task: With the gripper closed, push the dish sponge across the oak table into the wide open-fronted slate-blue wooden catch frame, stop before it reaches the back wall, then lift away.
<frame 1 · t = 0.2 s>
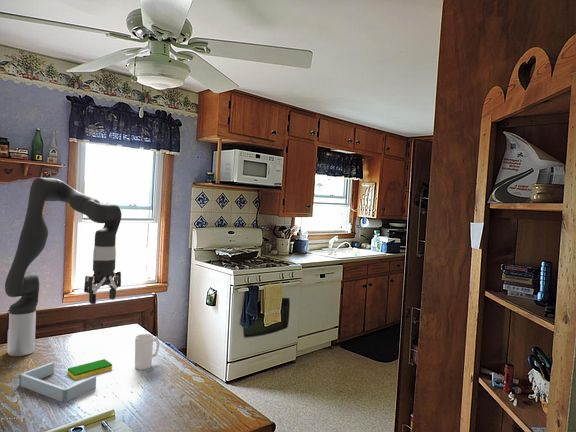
hand: (102, 301, 147), 28 cm above the table, fingers open, 8 cm apart
dish sponge: (90, 372, 152), on the table
catch frame: (57, 386, 139), on the table
mug: (146, 365, 160), on the table
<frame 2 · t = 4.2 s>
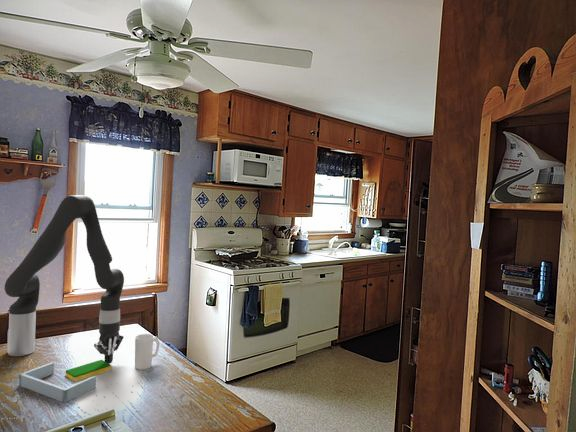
hand: (108, 362, 158), 1 cm above the table, fingers closed
dish sponge: (88, 374, 151), on the table
everything else where it was.
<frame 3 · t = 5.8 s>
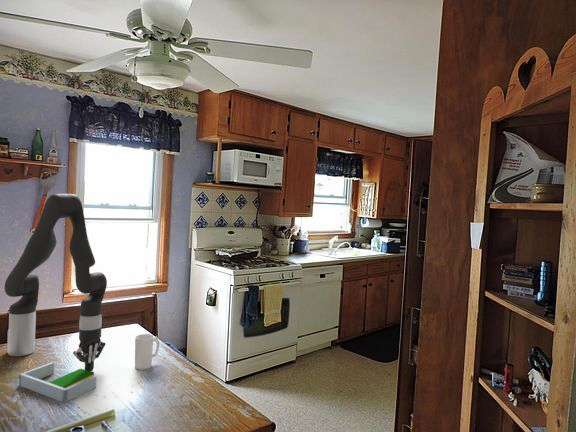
hand: (89, 371, 150), 1 cm above the table, fingers closed
dish sponge: (71, 384, 142), on the table
everything else where it was.
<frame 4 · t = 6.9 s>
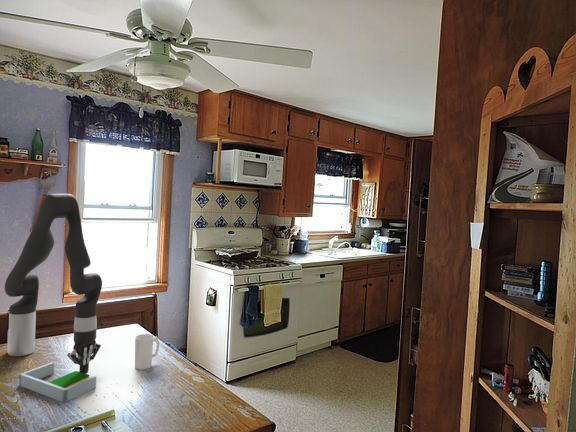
hand: (83, 373, 148), 1 cm above the table, fingers closed
dish sponge: (65, 387, 140), on the table, touching catch frame
everything else where it was.
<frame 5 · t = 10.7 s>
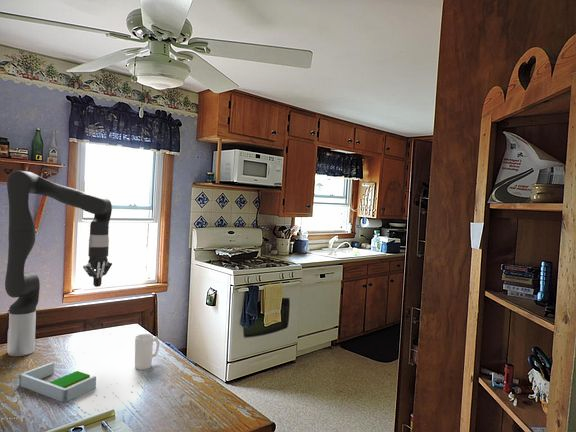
hand: (97, 286, 167), 29 cm above the table, fingers closed
dish sponge: (66, 387, 140), on the table
everything else where it was.
at the end: dish sponge inside the target area (2.3 cm from its centre), on the table; dish sponge moved 12.3 cm from its start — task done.
